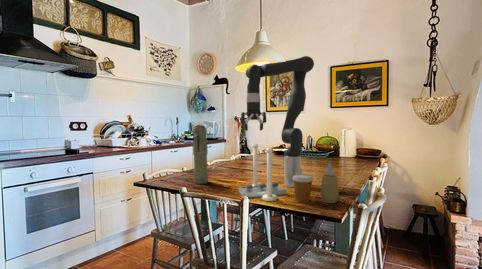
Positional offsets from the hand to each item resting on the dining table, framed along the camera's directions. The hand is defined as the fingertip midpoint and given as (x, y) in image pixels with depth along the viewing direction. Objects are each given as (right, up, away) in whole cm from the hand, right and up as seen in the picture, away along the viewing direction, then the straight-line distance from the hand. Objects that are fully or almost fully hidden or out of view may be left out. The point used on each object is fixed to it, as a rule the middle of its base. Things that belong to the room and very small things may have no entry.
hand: (253, 130), depth 155 cm
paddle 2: (+11, -29, -10) cm, 32 cm away
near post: (+7, -33, -22) cm, 41 cm away
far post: (+1, -32, -1) cm, 32 cm away
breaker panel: (+4, -33, -11) cm, 35 cm away
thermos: (-32, -32, +15) cm, 47 cm away
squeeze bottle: (+34, -34, -27) cm, 55 cm away
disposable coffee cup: (+22, -34, -25) cm, 47 cm away
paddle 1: (-3, -29, -13) cm, 32 cm away
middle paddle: (+4, -29, -11) cm, 31 cm away
